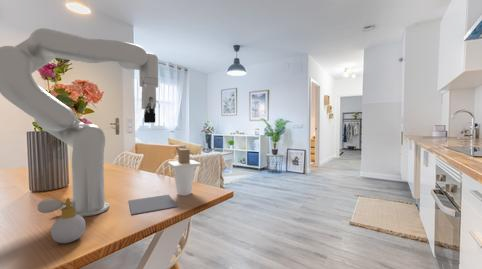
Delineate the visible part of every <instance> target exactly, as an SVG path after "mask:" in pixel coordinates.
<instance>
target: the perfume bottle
mask: <svg viewBox="0 0 482 269" xmlns="http://www.w3.org/2000/svg"><path fill="white" fill-rule="evenodd" d="M71 201H72V200H71V199H70V198H69V197H67V199H66V201H65V202H63V201H61V200H60V199H56V198H46V199H42V200H41V201H39V203H38V204H37V211H38V212H39V213H42V214H50V213H53V212H56V211H57V210H59V208H61V207H62V206H63V205H66V207H65V208H63V209H62V210H61V215H60V217H59V218H58V219H56V220H55V221H54V223H53V224H52V225H51V229H50V236H51V238H52V239H53V240H54V241H55V242H57V243H59V244H69V243H70V244H71V243H72V242H74V241H77V240H78V239H79V238H81V237H82V235H83V234H84V233H85V230H86V220H85V219H84V218H85V217H82V216H80V215H78V214H76V213H75V207H74V206H70V205H71V204H72V202H71Z"/></svg>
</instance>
